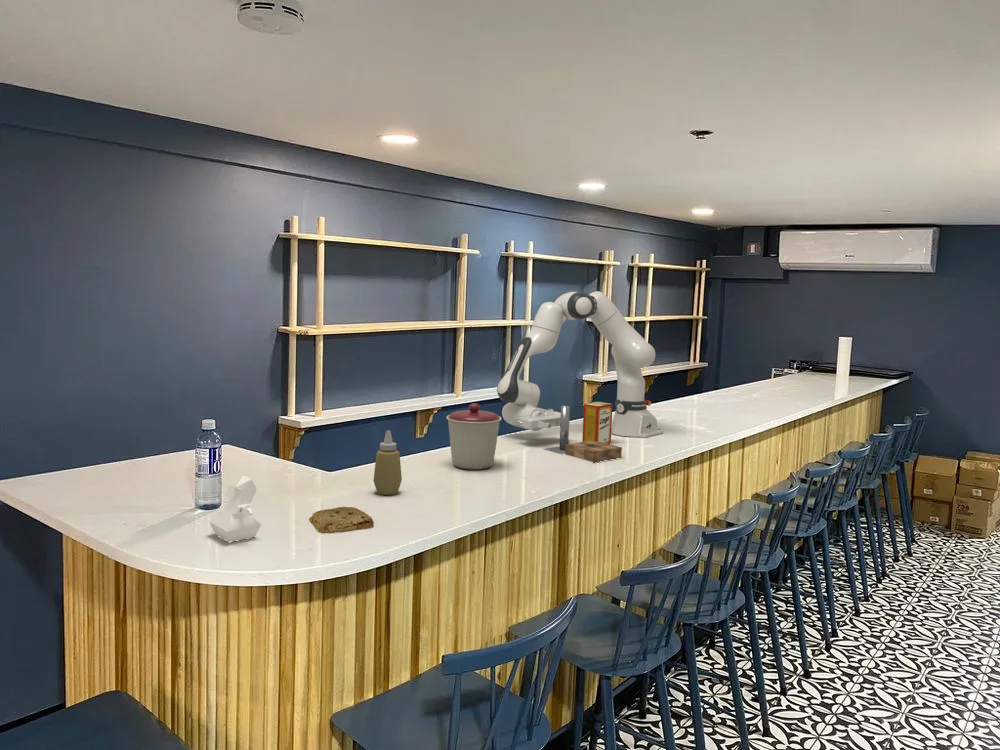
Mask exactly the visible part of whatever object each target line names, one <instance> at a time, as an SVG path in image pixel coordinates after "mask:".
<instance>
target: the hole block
mask: <svg viewBox="0 0 1000 750" xmlns="http://www.w3.org/2000/svg"><path fill="white" fill-rule="evenodd" d="M564 455H566V456H569V457H573V458H577V459H579V460H584V461H588V462H591V463H592V462H593V463H592V464H596V463H595V462H597V463H601V462H600V461H603V462H605V461H604V460H609V461H611V460H610V459H615V460H617V459H616V458H621V459H622V447H621V446H618V445H613V444H606V443H602V442H598V441H594V440H592V441H586V442H582V441H580V442H572V443H568V444H566V445H565V454H564Z"/></svg>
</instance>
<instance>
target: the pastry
mask: <svg viewBox="0 0 1000 750" xmlns="http://www.w3.org/2000/svg"><path fill="white" fill-rule="evenodd" d="M308 520H310V521H309V522H310V523H311V524H312V525H313V527H314V526H315V527H314V529H315V530H316V531H317V530H318V531H317V532H318V533H320V532H321V533H320V534H325V533H328V534H336V533H335V532H340V533H346V531H347V532H350V531H351V532H352V531H357V530H358V529H359V530H365V529H370V528H374V524H375V523H374V520H373V518H372V517H371V516H370V515H369V514H367V513H366V512H364V511H362V510H361V509H358V508H357V507H355V506H350V507H349V506H338V507H333V508H327V509H321V510H317V511H315V512H313V513H312V515H311V516H310V517H309V518H308Z"/></svg>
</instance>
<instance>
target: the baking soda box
mask: <svg viewBox="0 0 1000 750" xmlns="http://www.w3.org/2000/svg"><path fill="white" fill-rule="evenodd" d="M582 420H583V421H582V441H581V442H586V441H592V440H594V441H598V442H602V443H606V444H610V443H612V433H611V431H612V430H611V428H612V427H613V423H612V422H613V421H612V420H613V403H608V402H603V401H594V402H589V403H584V404H583V419H582ZM610 445H611V444H610Z"/></svg>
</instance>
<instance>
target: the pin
mask: <svg viewBox="0 0 1000 750" xmlns="http://www.w3.org/2000/svg"><path fill="white" fill-rule="evenodd" d="M570 409H571V407H570V405H561V406H560V413H561V420H560V426H559V428H560V429H559V446H560V448H559V450H563V451H565V445H566V444H569V441H570V439H569V438H570V437H569V435H570V424H569V422H570V411H571V410H570Z"/></svg>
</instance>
